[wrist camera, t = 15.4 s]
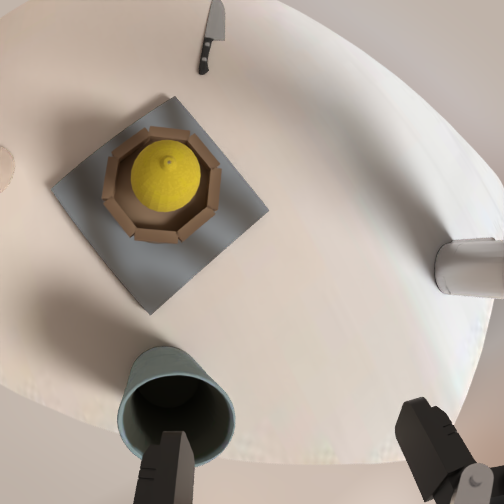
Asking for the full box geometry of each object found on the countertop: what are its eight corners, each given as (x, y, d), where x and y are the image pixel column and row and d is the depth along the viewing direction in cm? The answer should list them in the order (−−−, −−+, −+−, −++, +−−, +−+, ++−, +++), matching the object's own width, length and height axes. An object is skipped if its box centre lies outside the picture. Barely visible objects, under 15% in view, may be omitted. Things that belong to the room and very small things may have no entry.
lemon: (149, 228, 28) (150, 217, 20) (123, 175, 27) (115, 145, 19) (203, 200, 29) (223, 179, 22) (176, 149, 28) (187, 113, 21)
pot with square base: (173, 101, 36) (182, 63, 27) (264, 212, 39) (296, 199, 31) (54, 191, 31) (29, 172, 23) (150, 313, 34) (151, 329, 26)
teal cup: (109, 386, 32) (97, 435, 21) (155, 320, 35) (159, 347, 23) (179, 428, 35) (195, 485, 23) (225, 367, 37) (258, 408, 26)
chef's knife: (231, -6, 39) (214, -10, 38) (233, -10, 38) (216, -15, 37) (218, 80, 38) (196, 76, 37) (221, 76, 37) (198, 71, 36)
